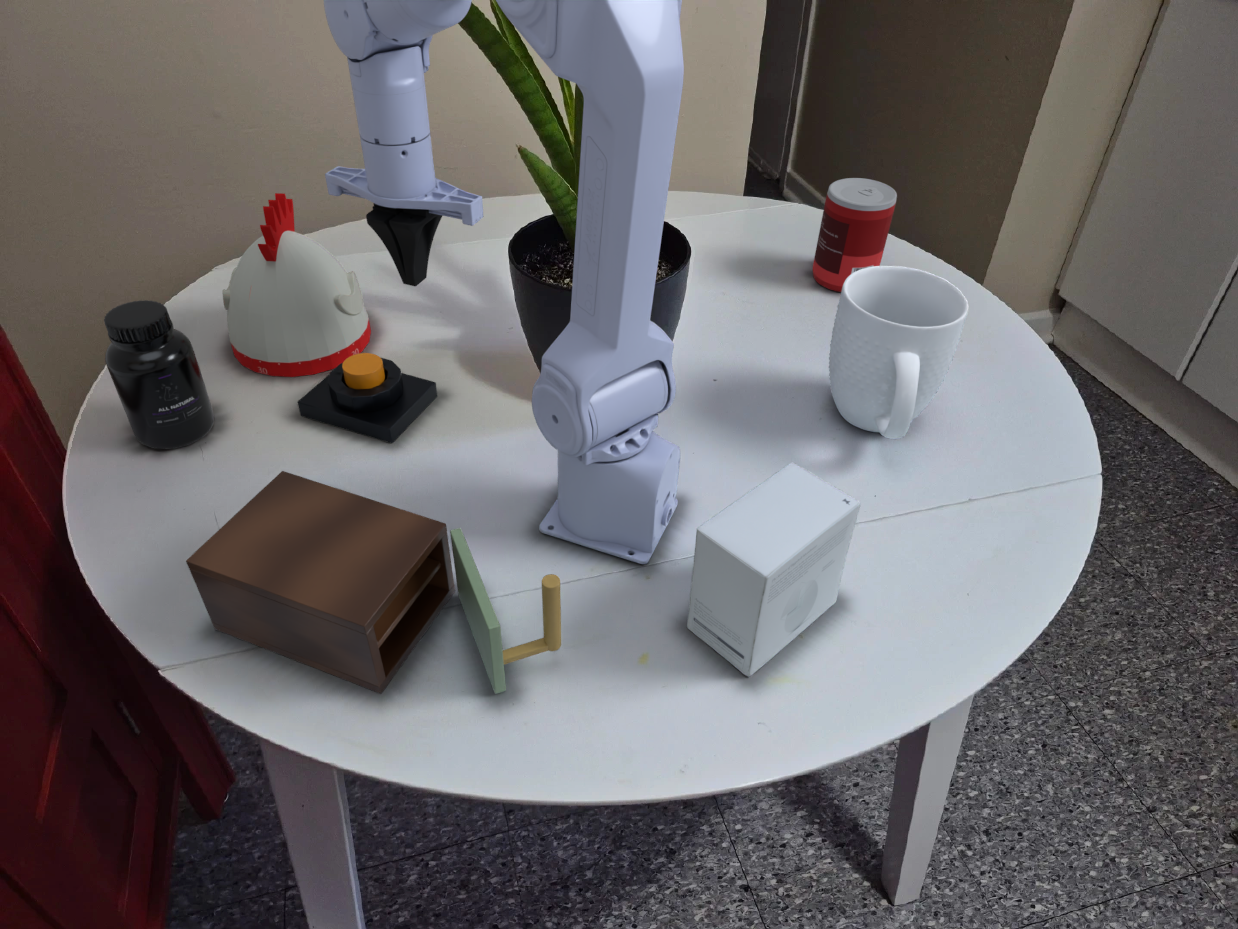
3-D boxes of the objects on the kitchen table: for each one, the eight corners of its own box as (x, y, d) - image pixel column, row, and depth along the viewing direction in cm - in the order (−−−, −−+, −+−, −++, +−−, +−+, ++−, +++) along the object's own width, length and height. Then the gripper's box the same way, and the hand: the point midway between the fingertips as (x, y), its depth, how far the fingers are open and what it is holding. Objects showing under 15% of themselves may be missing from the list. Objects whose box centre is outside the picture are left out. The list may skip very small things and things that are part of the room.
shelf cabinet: (455, 590, 66) (446, 523, 61) (381, 694, 59) (364, 626, 54) (302, 538, 70) (282, 470, 65) (214, 629, 62) (185, 560, 58)
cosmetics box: (770, 557, 70) (792, 457, 63) (836, 603, 66) (866, 503, 59) (680, 625, 64) (693, 524, 57) (747, 680, 61) (769, 579, 54)
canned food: (884, 274, 106) (906, 187, 99) (861, 301, 101) (883, 211, 94) (825, 256, 109) (843, 171, 102) (801, 282, 104) (817, 194, 97)
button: (392, 373, 82) (390, 358, 81) (370, 394, 79) (367, 378, 78) (360, 364, 83) (357, 349, 81) (337, 384, 80) (334, 369, 79)
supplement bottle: (190, 457, 76) (146, 341, 69) (119, 445, 77) (68, 330, 69) (231, 411, 82) (195, 298, 74) (165, 400, 82) (122, 288, 75)
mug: (947, 480, 77) (993, 358, 69) (823, 470, 78) (854, 347, 70) (919, 384, 89) (956, 269, 80) (811, 375, 89) (836, 259, 81)
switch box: (437, 396, 84) (434, 366, 82) (392, 443, 79) (386, 413, 76) (350, 371, 87) (344, 342, 85) (300, 416, 81) (292, 385, 79)
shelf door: (524, 576, 67) (519, 497, 61) (567, 671, 60) (566, 591, 55) (458, 595, 65) (447, 515, 60) (495, 695, 59) (486, 615, 53)
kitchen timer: (384, 307, 97) (362, 176, 87) (352, 379, 86) (324, 239, 76) (258, 302, 96) (223, 170, 87) (212, 373, 86) (165, 232, 76)
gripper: (496, 131, 73) (504, 277, 82) (349, 104, 76) (372, 246, 85) (453, 161, 68) (467, 312, 77) (298, 130, 71) (329, 278, 80)
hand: (414, 280), depth 81 cm, fingers closed
